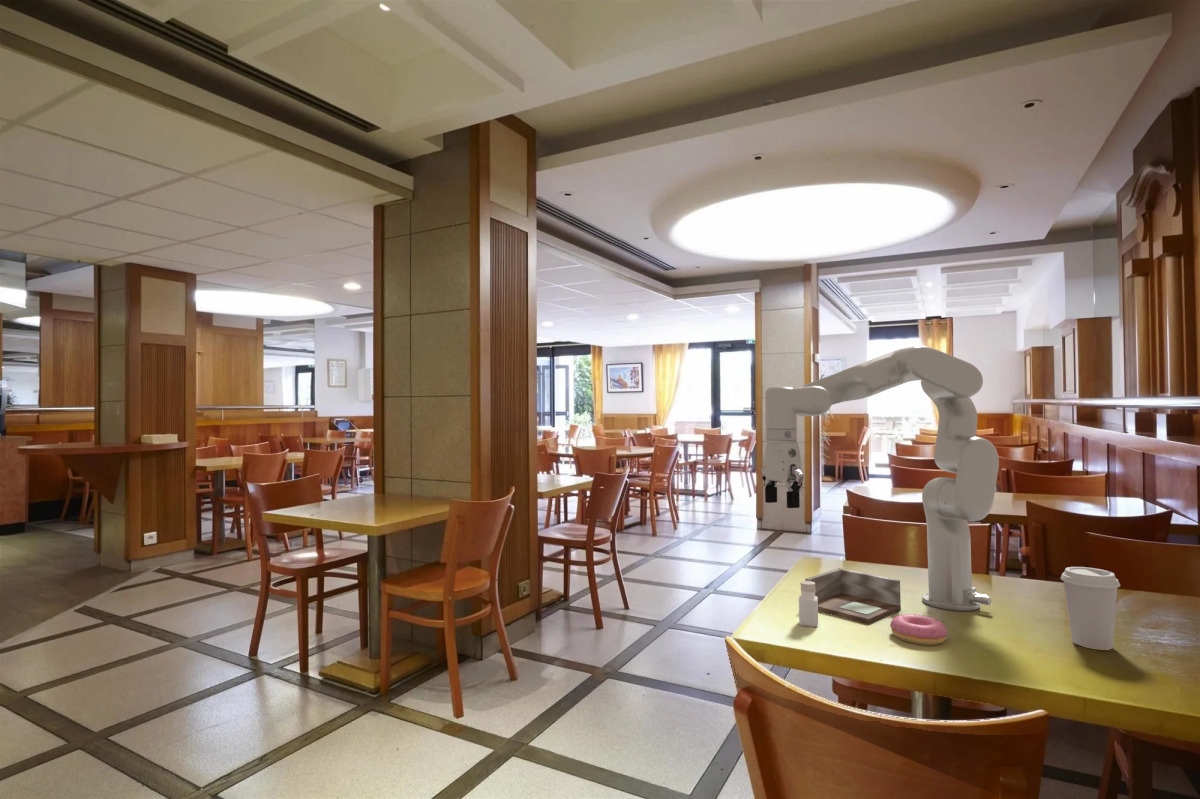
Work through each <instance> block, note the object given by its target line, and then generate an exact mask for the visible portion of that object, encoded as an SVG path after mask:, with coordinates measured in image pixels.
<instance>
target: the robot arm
mask: <svg viewBox="0 0 1200 799" xmlns="http://www.w3.org/2000/svg"><path fill="white" fill-rule="evenodd" d="M915 381H920V385H921V389H922V390H923V392H924V393H925V394H926V396H927V397H928V398H929V399H930V400H931V401H932V402H933V403H934V405H935V407H936V409H937V413H938V427H937V433H936V438H935V439H936V440H935V445H934V451H933V460H934V463H935V465H936V466H937V467H938V468H939V469H940V470H942V471H945V472H947V473H952V474H956V476H955V477H954V478H953V477H943V476H942V477H936V478H933V479H931V480H929V481H928V482H927V483H926V484H925V485H924V487H923V489H922V494H921V500H922V505H923V511H924V516H925V521H926V533H927V534H926V535H927V536H926V537H927V540H926V542H927V543H926V544H927V572H928V573H927V575H928V576H927V577H928V592H926V593H923V594H922V595H921V599H922V602H923V603H924V604H927V605H928V606H932V607H935V608H939V609H943V610H951V611H960V612H963V611H964V612H967V611H976V610H978V609H980V608H981V605H985V606H991V604H992V598H991V597H990V596H989V595H987V594H984V593H983V594H982V593H981V594H980V593H979V592H977V587H975V586H973V585H972V584H973V582H972V579H973V578H972V554H971V553H972V548H971V543H972V542H971V539H972V538H971V531H970V527H969V523H968V522H978V521H981V520H983V519H985V518H986V517H987V516H988V515H989V514H990V513H991V510H992V508H993V506H994V502H995V501H994V500H995V494H996V488H997V483H998V482H997V481H998V473H999V467H1000V466H999V465H1000V457H999V454H998V449H997V448H996V446H995V445H994V444H993V443H992V442H991V441H990V440H989V439H986V438H984V437H981V436H977V430H978V411H977V408H976V406H975V404H974V402H973V401H972V399H971V397H973V396H975V395H976V394H977V393H979V392H980V391H981V389H982V387H983V384H984V378H983V375H982V373H981V370H979V368H978V367H977V366H975V365H974V364H972V363H971V362H969V361H966V360H964V359H960V358H958V357H956V356H953V355H951V354H949V353H947V352H946V353H945V352H943V351H941V350H939V349H936V348H933V347H930V346H927V345H921V344H919V345H914V346H909V347H904V348H899V349H897V350H893V351H891V352H888V353H886V354H883V355H881V356H878V357H876V358H872V359H870V360H867V361H865V362H862V363H859V364H857V365H854V366H851V367H849V368H846V369H843V370H841V371H839V372H837V373H833V374H831V375H829V376H825V377H822V378H820V379H817V380H814V381H812V382H809V383H807V384H804V385H801V386H799V387H792V386H791V387H790V386H773V387H768V388H767V389H766V390H765V394H764V395H765V396H764V397H765V399H764V400H765V401H764V402H765V403H764V404H765V405H764V406H765V411H764V412H765V414H764V415H765V416H764V417H765V418H764V419H765V450H764V466H763V467H762V468H761V470H760V471H761V474H762V480H763V481H762V482H763V486H764V502H765V503H767V504H771V503H778V486H776V485H777V483H784V484H785V486H786V488H787V491H786V508H787V509H799V508H800V504H801V501H800V492H801V490H802V486H803V481H804V478H805V474H804V473H803V472H802V471H803V470H802V461H801V451H800V450H801V449H800V446H799V442H798V421H797V420H798V417H817V416H818V417H819V416H822V415H824V414H826V413H827V412H828V411H830V408H831V407H832V406H834V405H836V404H841V403H844V402H851V401H857V400H858V401H859V400H862V399H866V398H869V397H872V396H874V395H877V394H880V393H882V392H884V391H888V390H890V389H892V388H896V387H898V386H900V385H903V384H906V383H910V382H915ZM797 416H798V417H797Z"/></svg>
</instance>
